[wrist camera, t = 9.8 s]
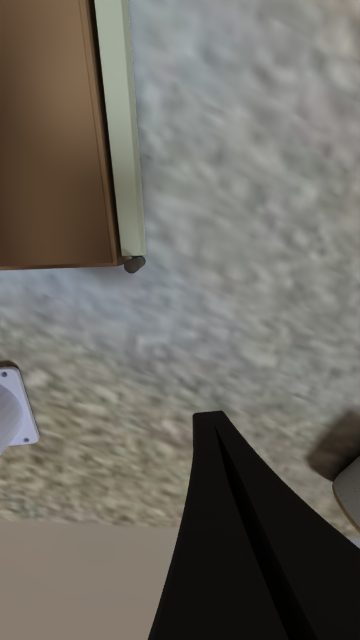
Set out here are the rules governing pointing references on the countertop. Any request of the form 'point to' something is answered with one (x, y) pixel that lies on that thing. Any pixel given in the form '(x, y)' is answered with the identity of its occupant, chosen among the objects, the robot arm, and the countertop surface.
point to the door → (122, 121)
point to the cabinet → (55, 141)
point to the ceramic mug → (349, 492)
